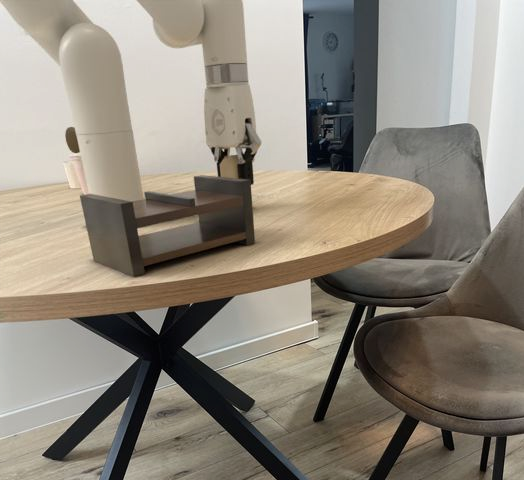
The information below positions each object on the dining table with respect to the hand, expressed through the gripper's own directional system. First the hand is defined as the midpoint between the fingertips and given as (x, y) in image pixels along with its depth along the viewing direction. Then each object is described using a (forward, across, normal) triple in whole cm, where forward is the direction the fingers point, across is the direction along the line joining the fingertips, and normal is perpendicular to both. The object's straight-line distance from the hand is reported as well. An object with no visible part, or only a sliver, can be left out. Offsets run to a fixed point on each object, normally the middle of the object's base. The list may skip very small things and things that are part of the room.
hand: (235, 183), depth 98 cm
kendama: (+5, -40, -10) cm, 42 cm away
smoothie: (+5, -53, -7) cm, 54 cm away
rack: (+5, +17, -25) cm, 31 cm away
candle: (+5, 0, 0) cm, 5 cm away
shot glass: (+5, -69, -3) cm, 69 cm away
